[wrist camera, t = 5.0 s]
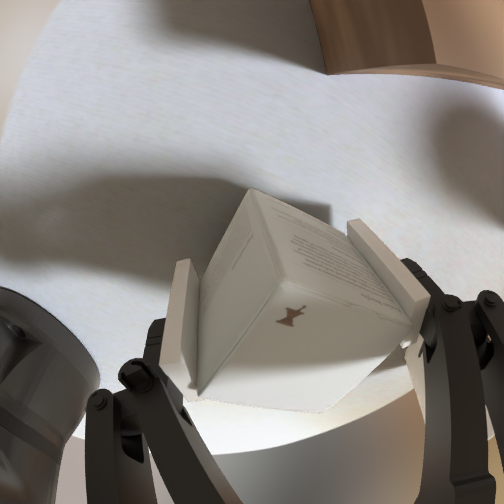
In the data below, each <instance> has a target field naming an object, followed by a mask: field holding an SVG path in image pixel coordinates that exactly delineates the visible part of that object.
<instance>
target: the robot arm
mask: <svg viewBox="0 0 504 504" xmlns="http://www.w3.org/2000/svg"><path fill="white" fill-rule="evenodd" d="M347 238H348V239H349V240H350V241H351V243H352V244H353V245H354V246H355V247H356V249H357V250H358V251H359V253H360V254H361V255H362V256H363V258H364V259H365V260H366V261H367V263H368V264H369V265H370V267H371V268H372V269H373V271H374V272H375V273H376V274H377V275H378V277H379V278H380V280H381V281H382V282H383V283H384V285H385V286H386V287H387V288H388V290H389V291H390V292H391V294H392V295H393V296H394V298H395V299H396V301H397V302H398V303H399V305H400V306H401V307H402V309H403V310H404V312H405V313H406V315H407V316H408V317H409V319H410V320H411V322H412V323H413V326H414V328H413V329H412V331H411V332H410V333H409V334H408V335H407V337H406V338H405V339H404V340H403V341H402V342H401V343H400V346H401V347H402V348H405V347H407V346H410V345H412V344H414V343H417V340H418V337H419V334H420V335H421V336H422V338H423V339H424V340H423V343H422V346H421V349H420V351H419V354H418V358H420V357H421V355H422V352H423V363H424V378H425V447H424V460H423V470H422V479H421V486H420V492H419V495H418V497H417V499H416V501H415V503H414V504H495V494H496V481H495V478H494V477H493V476H492V475H491V474H490V473H489V471H488V432H487V417H486V407H487V410H488V413H489V417H490V420H491V423H492V426H493V430H494V433H495V437H496V441H497V445H498V449H499V453H500V457H501V462H502V467H503V472H504V302H503V300H502V299H501V298H500V296H499V295H498V294H496V293H495V292H493V291H489V290H483V291H482V292H480V293H479V295H478V297H477V300H475V301H466V302H462V301H461V300H460V299H459V298H458V297H456V296H454V295H449V294H446V295H445V294H444V292H443V291H442V290H441V289H440V288H439V287H438V286H437V285H436V283H435V282H434V281H433V280H432V279H431V278H430V277H429V276H427V274H426V272H425V271H423V270H422V268H421V267H420V266H419V265H418V264H417V263H416V262H414V261H412V260H410V259H409V258H405V259H402V260H399V259H398V258H397V257H396V255H395V254H394V253H393V252H392V251H391V250H390V249H389V248H388V247H387V246H386V245H385V244H384V243H383V242H382V241H381V240H380V239H379V238H378V236H377V235H376V234H375V233H374V232H373V231H372V230H371V229H370V228H369V227H368V226H367V225H366V224H365V223H364V222H363V221H362V220H361V219H360V218H359V219H355V220H350V221H347ZM199 297H200V281H199V279H198V276H197V274H196V271H195V268H194V266H193V263H192V261H191V258H188V259H184V260H180V261H177V263H176V267H175V272H174V277H173V282H172V288H171V293H170V298H169V304H168V309H167V315H166V318H162V319H157V320H154V321H153V323H152V324H151V326H150V327H149V330H148V334H147V339H146V344H145V345H146V347H145V349H144V354H143V359H142V358H134V359H131V360H129V361H128V362H126V363H125V364H124V365H123V366H122V367H121V368H120V371H119V373H118V380H119V381H120V382H121V383H122V384H123V385H124V386H125V387H126V388H127V389H124V390H122V391H119V392H116V393H114V394H112V393H111V392H110V391H109V390H107V389H99V390H98V388H99V385H100V374H99V370H98V368H97V365H96V363H95V361H94V360H93V358H92V357H91V355H90V354H89V352H88V351H87V350H86V348H85V347H84V346H83V345H82V344H81V342H80V341H79V340H78V339H77V338H76V337H75V336H74V335H73V334H72V333H71V332H70V331H69V330H68V329H67V328H66V327H65V326H63V325H62V324H61V323H60V322H59V321H58V320H56V319H55V318H54V317H53V316H52V315H50V314H49V313H48V312H46V311H45V310H43V309H42V308H41V307H39V306H38V305H36V304H35V303H33V302H31V301H30V300H28V299H26V298H24V297H22V296H20V295H18V294H16V293H14V292H11V291H8V290H5V289H0V504H55V499H56V491H57V484H58V477H59V470H60V465H61V460H62V454H63V450H64V447H65V444H66V443H67V441H68V439H69V438H70V437H71V435H72V434H73V432H74V431H75V429H76V428H77V426H78V425H79V423H80V422H81V420H82V418H83V417H84V415H85V413H86V425H85V476H86V493H87V504H157V499H156V493H155V488H154V482H153V477H152V470H151V464H150V457H149V449H150V451H151V454H152V456H153V459H154V461H155V463H156V466H157V468H158V470H159V472H160V475H161V477H162V479H163V481H164V483H165V485H166V488H167V489H168V492H169V494H170V496H171V497H172V499H173V502H174V503H175V504H243V503H242V501H241V500H240V498H239V497H238V496H237V494H236V493H235V491H234V490H233V488H232V487H231V485H230V484H229V482H228V481H227V480H226V478H225V476H224V475H223V473H222V471H221V470H220V468H219V467H218V465H217V464H216V462H215V460H214V459H213V457H212V455H211V453H210V452H209V450H208V448H207V447H206V445H205V443H204V441H203V440H202V438H201V436H200V434H199V432H198V431H197V429H196V427H195V425H194V423H193V421H192V419H191V418H190V416H189V414H188V412H187V410H186V408H185V407H184V406H183V397H184V398H185V399H186V400H187V401H188V402H192V401H201V400H205V399H203V398H200V397H198V395H197V345H198V313H199ZM488 335H489V336H490V338H491V341H490V340H489V338H488ZM485 404H486V407H485ZM148 446H149V449H148Z"/></svg>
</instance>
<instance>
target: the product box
mask: <svg viewBox="0 0 504 504" xmlns="http://www.w3.org/2000/svg"><path fill="white" fill-rule="evenodd" d="M413 328H414V326H413V323H412V322H411V320H410V319H409V317H408V316H407V315H406V313H405V312H404V310H403V309H402V307H401V306H400V305H399V303H398V302H397V301H396V299H395V298H394V296H393V295H392V294H391V292H390V291H389V290H388V288H387V287H386V286H385V285H384V283H383V282H382V281H381V280H380V278H379V277H378V275H377V274H376V273H375V272H374V271H373V269H372V268H371V267H370V265H369V264H368V263H367V261H366V260H365V259H364V258H363V256H362V255H361V254H360V253H359V251H358V250H357V249H356V247H355V246H354V245H353V244H352V243H351V241H350V240H349V239H348V238H347V236H346V235H345V234H344V233H343V232H341V231H339V230H337V229H335V228H334V227H332V226H330V225H328V224H326V223H324V222H322V221H321V220H319V219H317V218H315V217H313V216H311V215H309V214H307V213H305V212H303V211H301V210H299V209H297V208H295V207H293V206H290V205H288V204H286V203H284V202H282V201H280V200H278V199H276V198H274V197H271V196H269V195H267V194H265V193H262V192H260V191H258V190H256V189H253V188H250V189H249V190H248V191H247V193H246V194H245V196H244V198H243V200H242V202H241V204H240V206H239V208H238V209H237V211H236V213H235V215H234V217H233V219H232V221H231V223H230V224H229V226H228V228H227V230H226V232H225V234H224V236H223V238H222V239H221V241H220V243H219V245H218V247H217V249H216V251H215V253H214V255H213V257H212V259H211V261H210V263H209V265H208V267H207V269H206V271H205V273H204V275H203V277H202V279H201V281H200V297H199V313H198V345H197V395H198V397H200V398H203V399H209V400H214V401H220V402H226V403H232V404H238V405H245V406H252V407H260V408H268V409H277V410H288V411H299V412H311V413H322V412H324V411H325V410H327V409H328V408H330V407H331V406H333V405H334V404H335V403H336V402H338V401H339V400H340V399H341V398H342V397H344V396H345V395H346V394H347V393H348V392H350V391H351V390H352V389H353V388H354V387H355V386H356V385H357V384H359V383H360V382H361V381H362V380H363V379H364V378H365V377H366V376H367V375H368V374H370V373H371V372H372V371H373V370H374V369H375V368H376V367H377V366H378V365H379V364H380V363H381V362H382V361H383V360H384V359H385V358H387V357H388V356H389V355H390V354H391V353H392V352H393V351H394V350H395V349H396V348H397V347H398V345H399V344H400V343H401V342H402V341H403V340H404V339H405V338H406V337H407V335H408V334H409V333H410V332H411V331H412V329H413Z"/></svg>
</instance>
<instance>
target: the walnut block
mask: <svg viewBox="0 0 504 504" xmlns="http://www.w3.org/2000/svg"><path fill="white" fill-rule="evenodd" d="M309 1H310V5H311V8H312V12H313V15H314V19H315V23H316V27H317V31H318V35H319V39H320V43H321V48H322V52H323V57H324V62H325V66H326V71H327V75H339V74H399V75H415V76H426V77H435V78H443V79H451V80H457V81H463V82H469V83H474V84H479V85H484V86H488V87H493V88H497V89H502V90H504V0H309Z"/></svg>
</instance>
